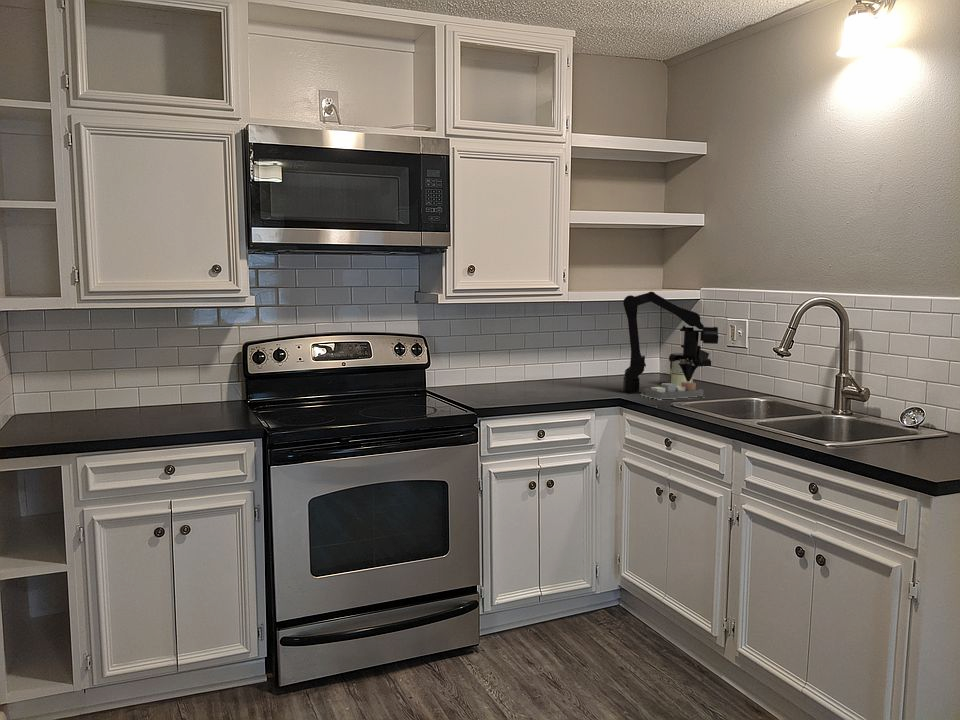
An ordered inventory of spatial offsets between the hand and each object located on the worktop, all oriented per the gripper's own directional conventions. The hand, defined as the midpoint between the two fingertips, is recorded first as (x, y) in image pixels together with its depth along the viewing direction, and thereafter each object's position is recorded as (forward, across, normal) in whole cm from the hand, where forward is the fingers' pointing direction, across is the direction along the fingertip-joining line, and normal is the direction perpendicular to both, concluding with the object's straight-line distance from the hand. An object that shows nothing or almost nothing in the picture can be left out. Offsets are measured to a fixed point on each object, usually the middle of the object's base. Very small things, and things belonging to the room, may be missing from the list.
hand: (688, 381), depth 317 cm
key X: (+4, 0, +10) cm, 11 cm away
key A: (+5, 0, +16) cm, 16 cm away
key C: (+5, 0, +5) cm, 7 cm away
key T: (+4, 0, 0) cm, 4 cm away
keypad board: (+6, 0, +8) cm, 10 cm away
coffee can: (+6, +20, -14) cm, 25 cm away
